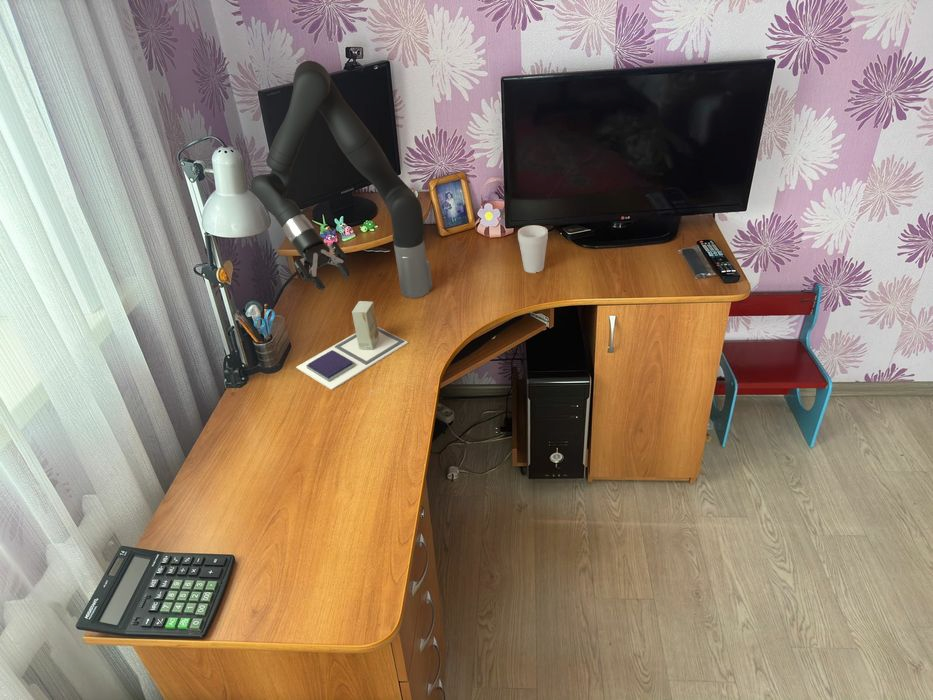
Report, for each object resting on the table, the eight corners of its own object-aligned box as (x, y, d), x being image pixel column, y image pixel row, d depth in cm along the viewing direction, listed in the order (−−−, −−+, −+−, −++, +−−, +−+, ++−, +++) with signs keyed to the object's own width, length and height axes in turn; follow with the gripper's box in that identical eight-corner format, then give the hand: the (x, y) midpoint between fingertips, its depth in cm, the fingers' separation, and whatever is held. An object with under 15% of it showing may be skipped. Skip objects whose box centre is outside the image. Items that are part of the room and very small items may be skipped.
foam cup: (520, 261, 231) (518, 225, 224) (548, 261, 230) (547, 224, 223) (519, 275, 224) (517, 238, 216) (548, 275, 222) (547, 237, 215)
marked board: (371, 324, 206) (371, 322, 206) (408, 343, 197) (407, 341, 196) (296, 368, 191) (295, 366, 191) (331, 390, 182) (331, 388, 181)
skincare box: (373, 350, 195) (366, 313, 188) (358, 349, 195) (350, 312, 189) (380, 337, 200) (373, 300, 193) (366, 336, 201) (358, 300, 194)
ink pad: (333, 353, 195) (332, 348, 194) (355, 365, 189) (354, 361, 188) (306, 368, 190) (305, 363, 189) (329, 381, 184) (328, 377, 183)
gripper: (284, 238, 187) (318, 287, 187) (326, 219, 196) (359, 266, 195) (278, 251, 194) (311, 298, 193) (319, 232, 202) (351, 278, 201)
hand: (335, 282), depth 194 cm, fingers open, 8 cm apart
